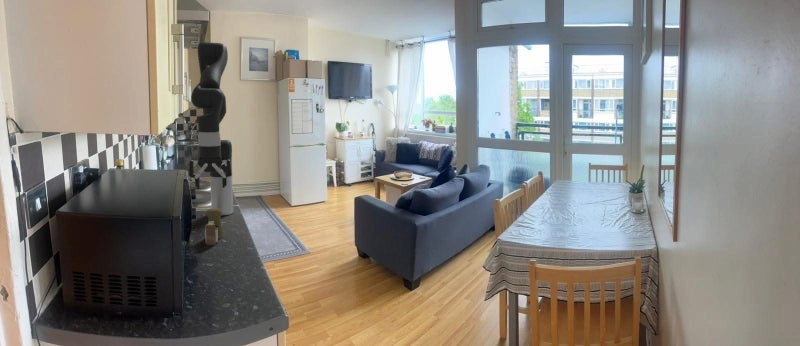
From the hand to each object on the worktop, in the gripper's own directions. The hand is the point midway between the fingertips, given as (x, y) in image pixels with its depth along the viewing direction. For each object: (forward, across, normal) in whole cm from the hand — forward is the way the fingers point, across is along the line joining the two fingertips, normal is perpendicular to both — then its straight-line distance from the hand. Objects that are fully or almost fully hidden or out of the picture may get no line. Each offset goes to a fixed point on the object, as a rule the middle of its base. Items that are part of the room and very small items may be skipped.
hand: (211, 187), depth 169 cm
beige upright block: (+19, 0, +7) cm, 20 cm away
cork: (+19, -1, 0) cm, 19 cm away
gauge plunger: (+19, 0, +6) cm, 20 cm away
